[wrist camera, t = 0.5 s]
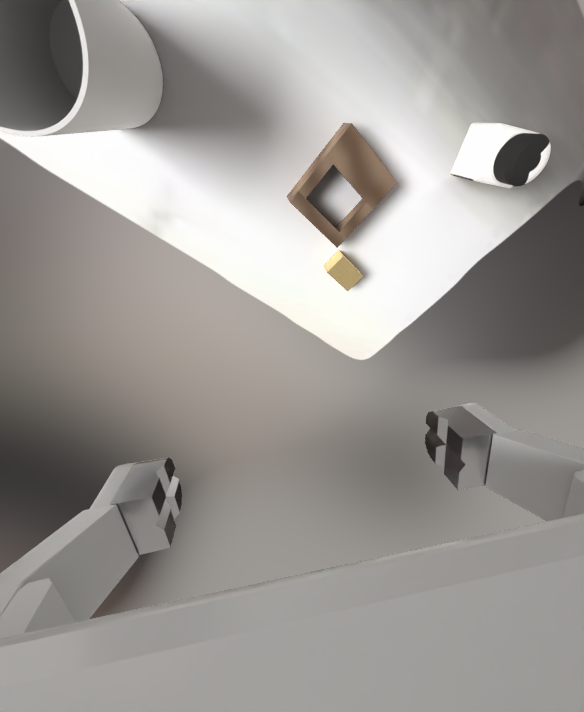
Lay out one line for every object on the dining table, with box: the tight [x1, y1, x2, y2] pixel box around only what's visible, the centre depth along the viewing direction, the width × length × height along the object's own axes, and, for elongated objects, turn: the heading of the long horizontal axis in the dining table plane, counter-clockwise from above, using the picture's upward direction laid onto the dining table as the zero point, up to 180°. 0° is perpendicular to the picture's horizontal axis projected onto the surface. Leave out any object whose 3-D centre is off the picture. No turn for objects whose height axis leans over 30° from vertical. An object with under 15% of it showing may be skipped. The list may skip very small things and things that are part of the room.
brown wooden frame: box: [287, 123, 397, 247], centre depth 49 cm, size 13×11×5 cm
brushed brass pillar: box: [324, 250, 363, 291], centre depth 58 cm, size 4×6×4 cm, turn 47°
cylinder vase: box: [0, 0, 163, 137], centre depth 29 cm, size 12×12×25 cm
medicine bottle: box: [451, 123, 551, 188], centre depth 45 cm, size 7×7×12 cm
